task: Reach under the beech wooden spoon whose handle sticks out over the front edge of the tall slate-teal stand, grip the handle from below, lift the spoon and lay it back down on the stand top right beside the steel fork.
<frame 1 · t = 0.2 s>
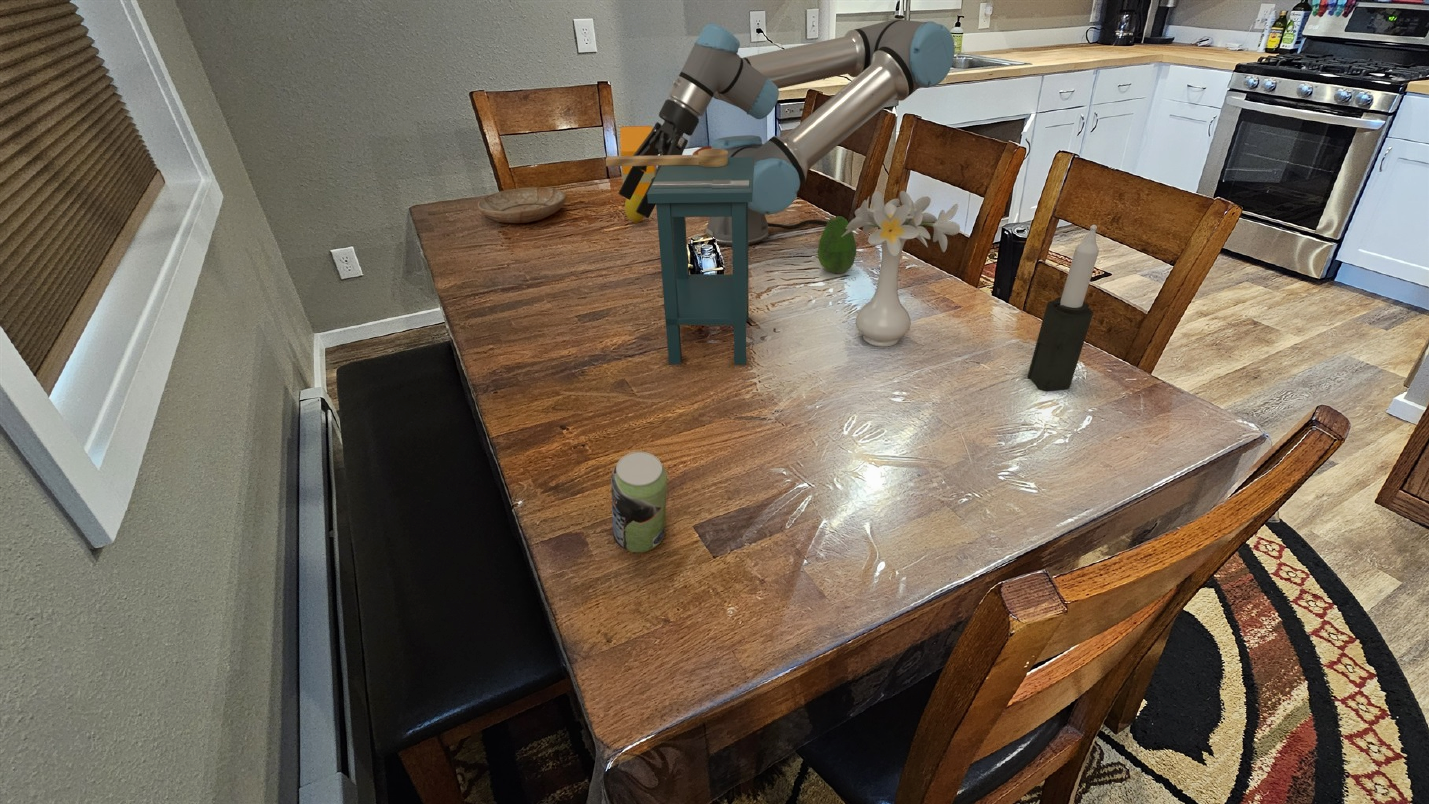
hand: (632, 205, 134), 15 cm above the table, tool tilted 35°, fingers open, 13 cm apart
beverage can: (643, 542, 77), on the table
ceramic bowl: (525, 216, 180), on the table
candle: (1047, 382, 103), on the table
flower vase: (882, 338, 116), on the table
lemon: (637, 224, 172), on the table
burger: (711, 181, 203), on the table
wooden spoon: (673, 164, 107), point 29 cm above the table, touching stand
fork: (701, 186, 96), point 29 cm above the table, touching stand
avocado: (834, 273, 141), on the table
stand: (711, 339, 118), on the table
orange juice: (642, 201, 188), on the table
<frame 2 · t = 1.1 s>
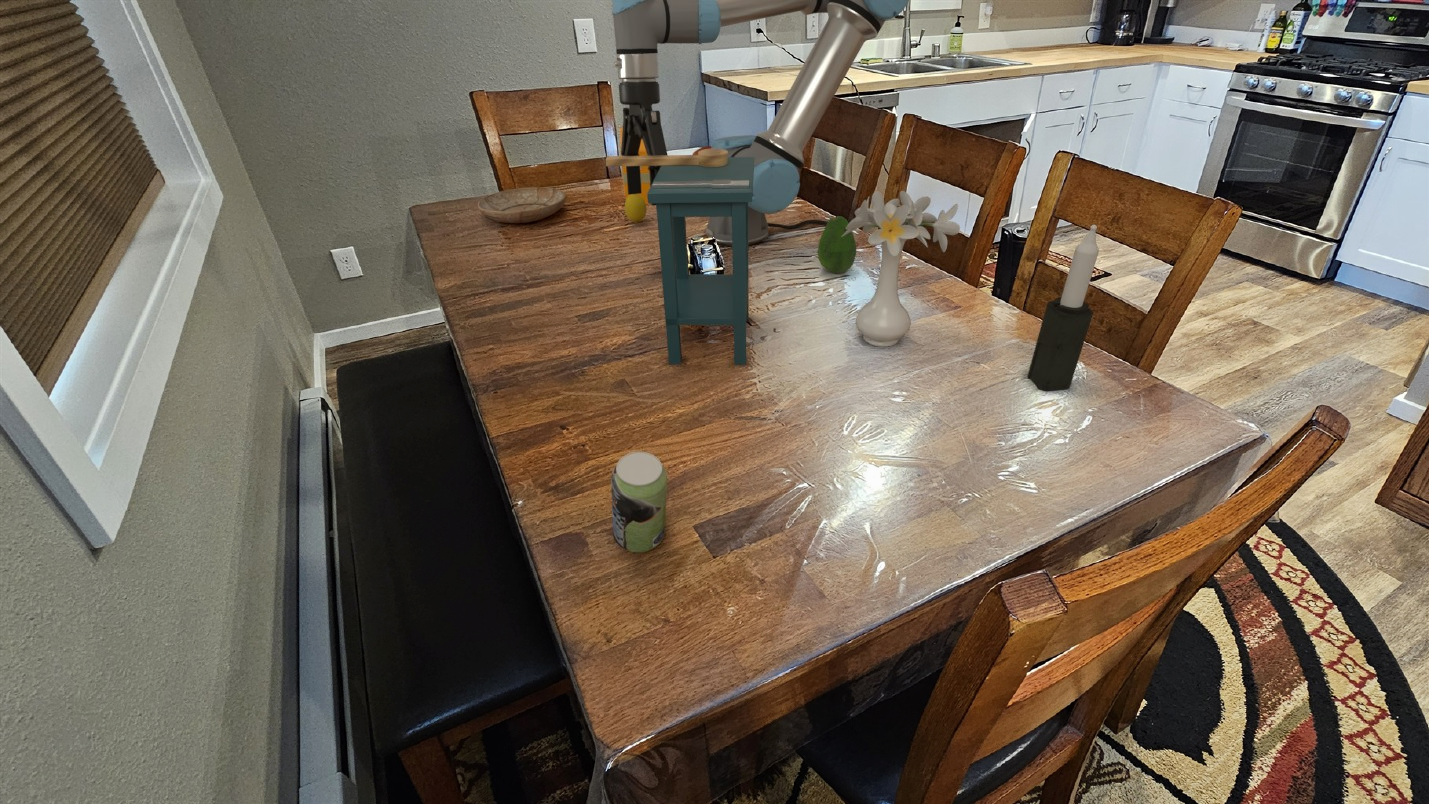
hand: (646, 199, 131), 17 cm above the table, tool pointing down, fingers open, 13 cm apart
nothing on the table moved.
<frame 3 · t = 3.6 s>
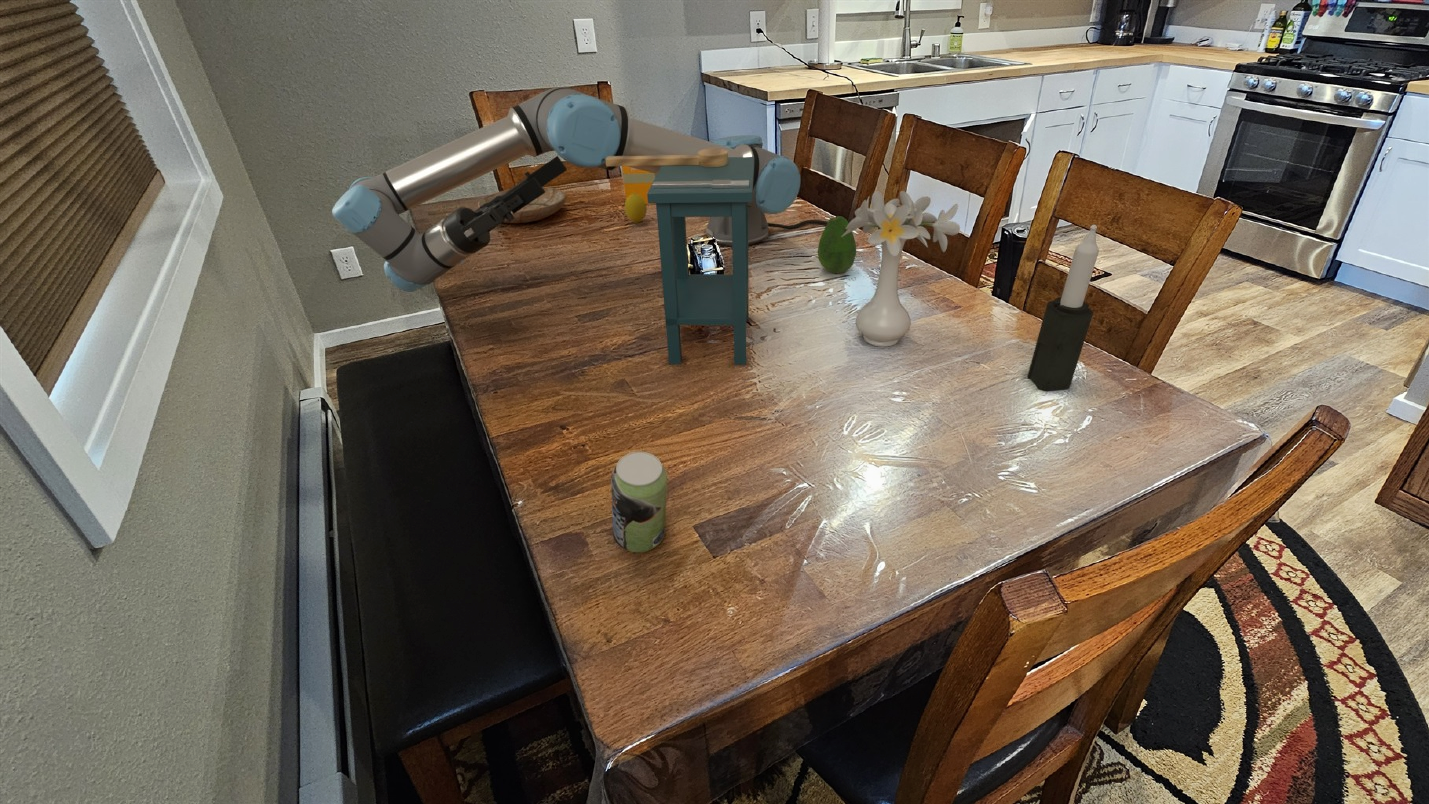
hand: (551, 173, 109), 28 cm above the table, tool pointing upward, fingers open, 13 cm apart
nothing on the table moved.
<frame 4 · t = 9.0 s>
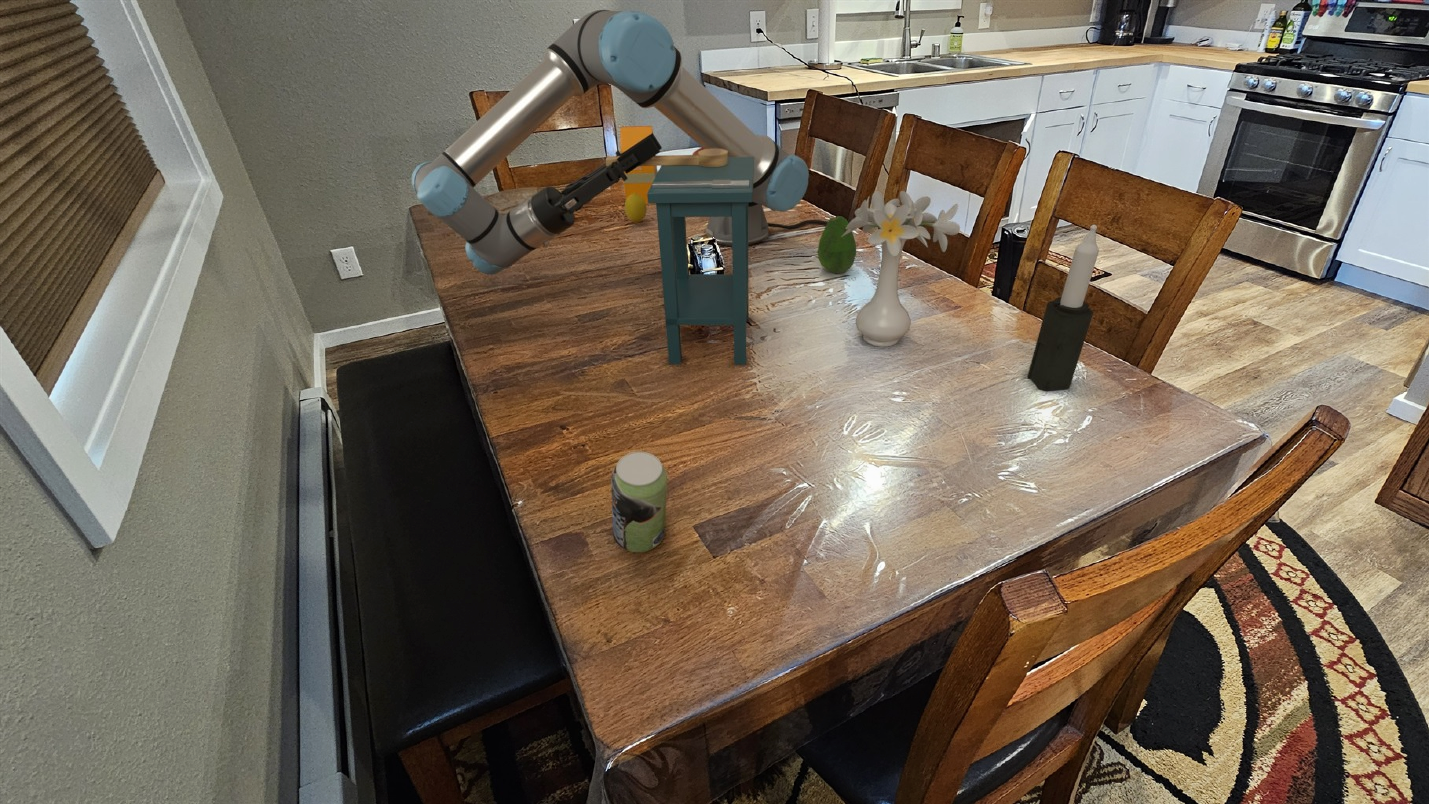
hand: (655, 142, 105), 32 cm above the table, tool pointing upward, fingers closed on wooden spoon, 2 cm apart
wooden spoon: (673, 164, 107), point 29 cm above the table, touching gripper, stand
everything else where it was.
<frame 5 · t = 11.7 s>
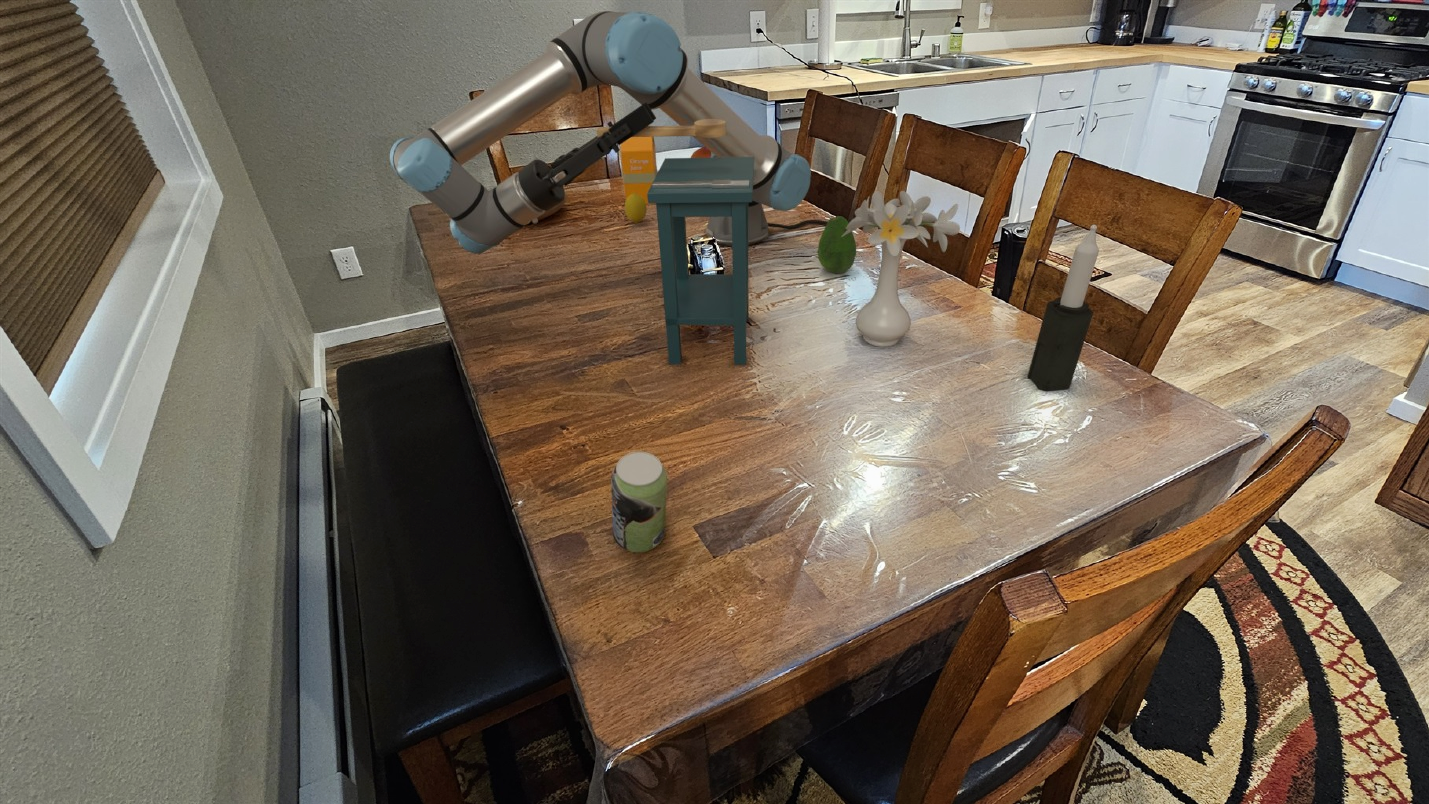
hand: (649, 112, 100), 38 cm above the table, tool pointing upward, fingers closed on wooden spoon, 2 cm apart
wooden spoon: (668, 135, 101), point 34 cm above the table, touching gripper
everything else where it was.
when the fingers open (32 cm above the table, at t = 14.4 s): wooden spoon stays where it is, resting on stand.
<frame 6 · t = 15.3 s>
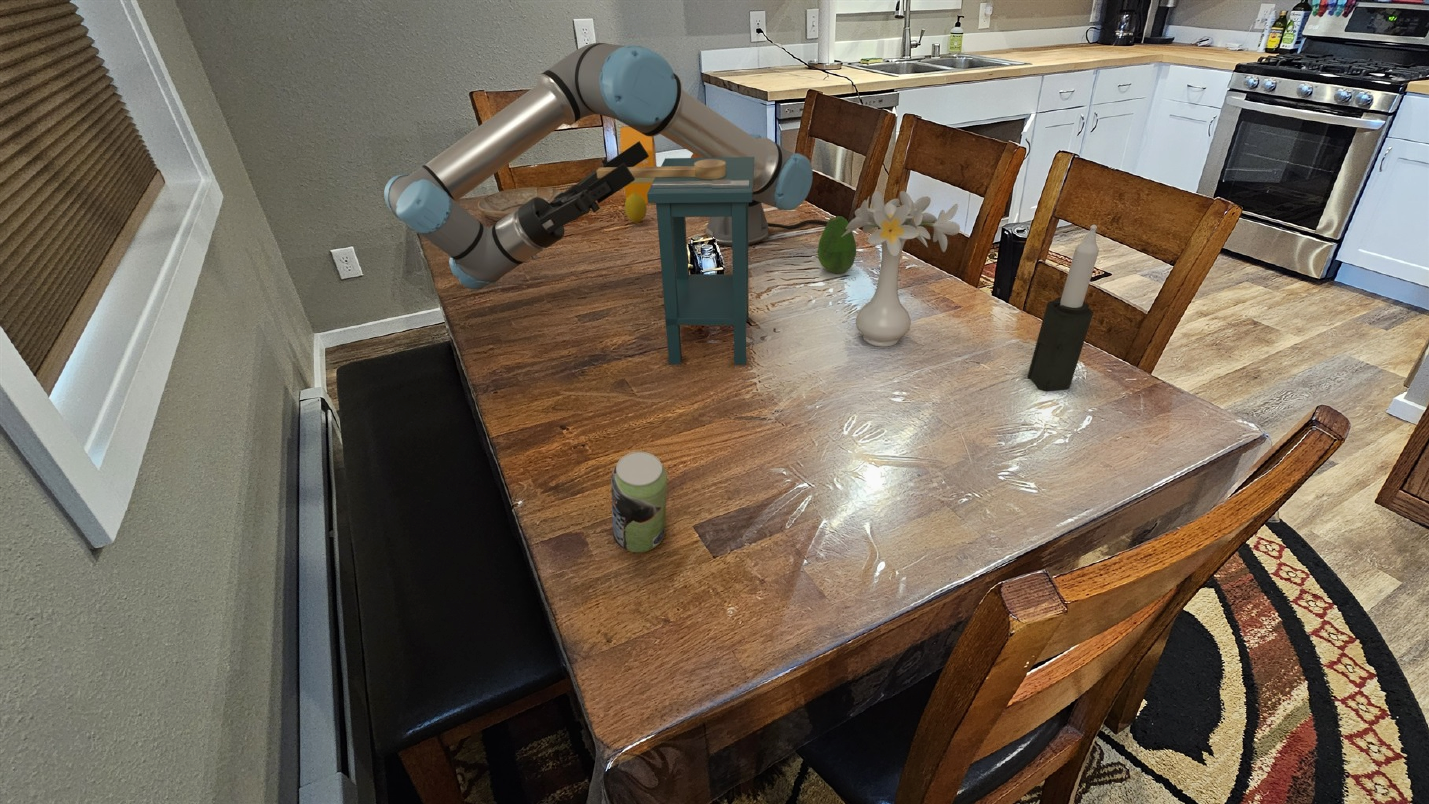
hand: (637, 159, 100), 32 cm above the table, tool pointing upward, fingers open, 13 cm apart
wooden spoon: (668, 175, 101), point 29 cm above the table, touching stand
everything else where it was.
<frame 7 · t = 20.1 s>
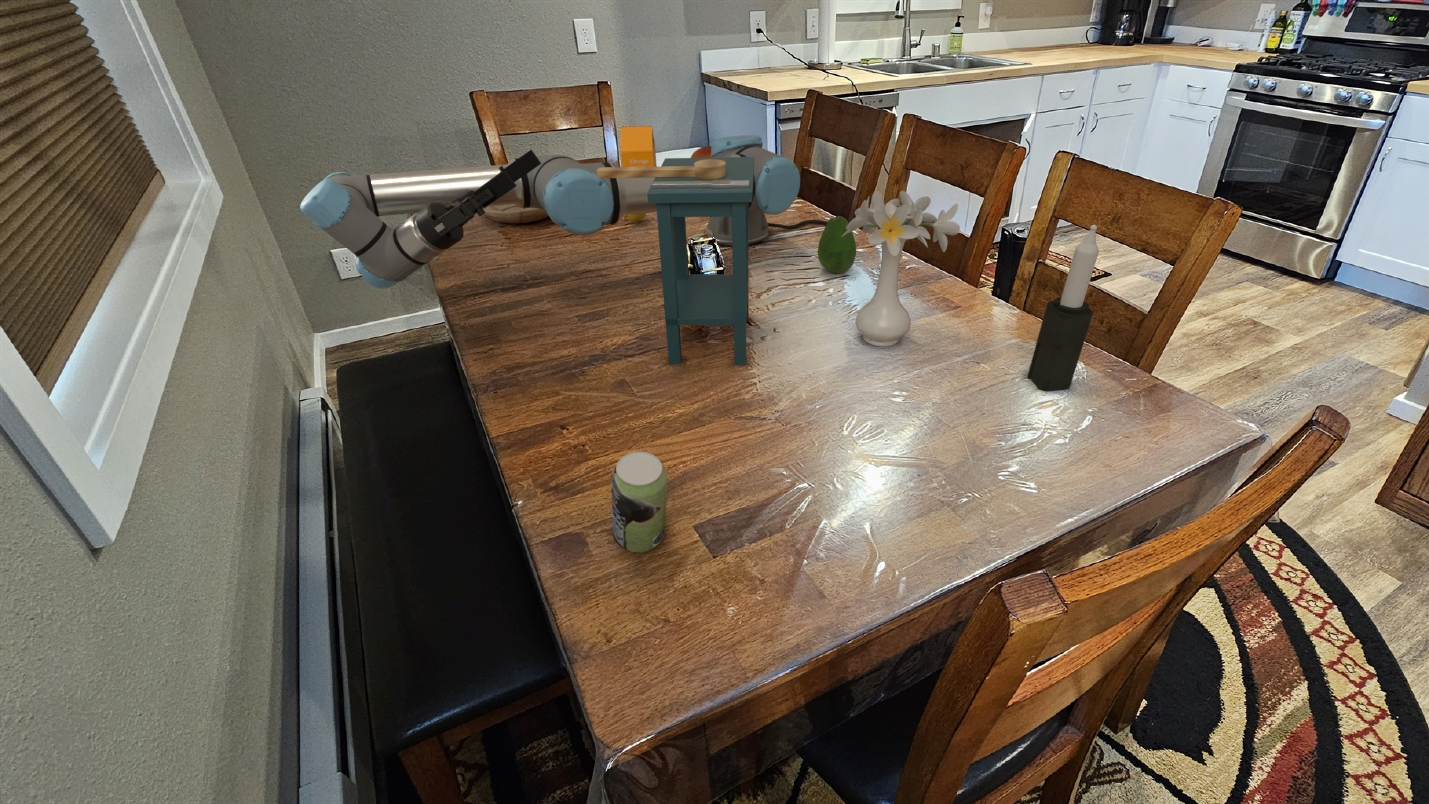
hand: (523, 167, 107), 29 cm above the table, tool pointing upward, fingers open, 13 cm apart
nothing on the table moved.
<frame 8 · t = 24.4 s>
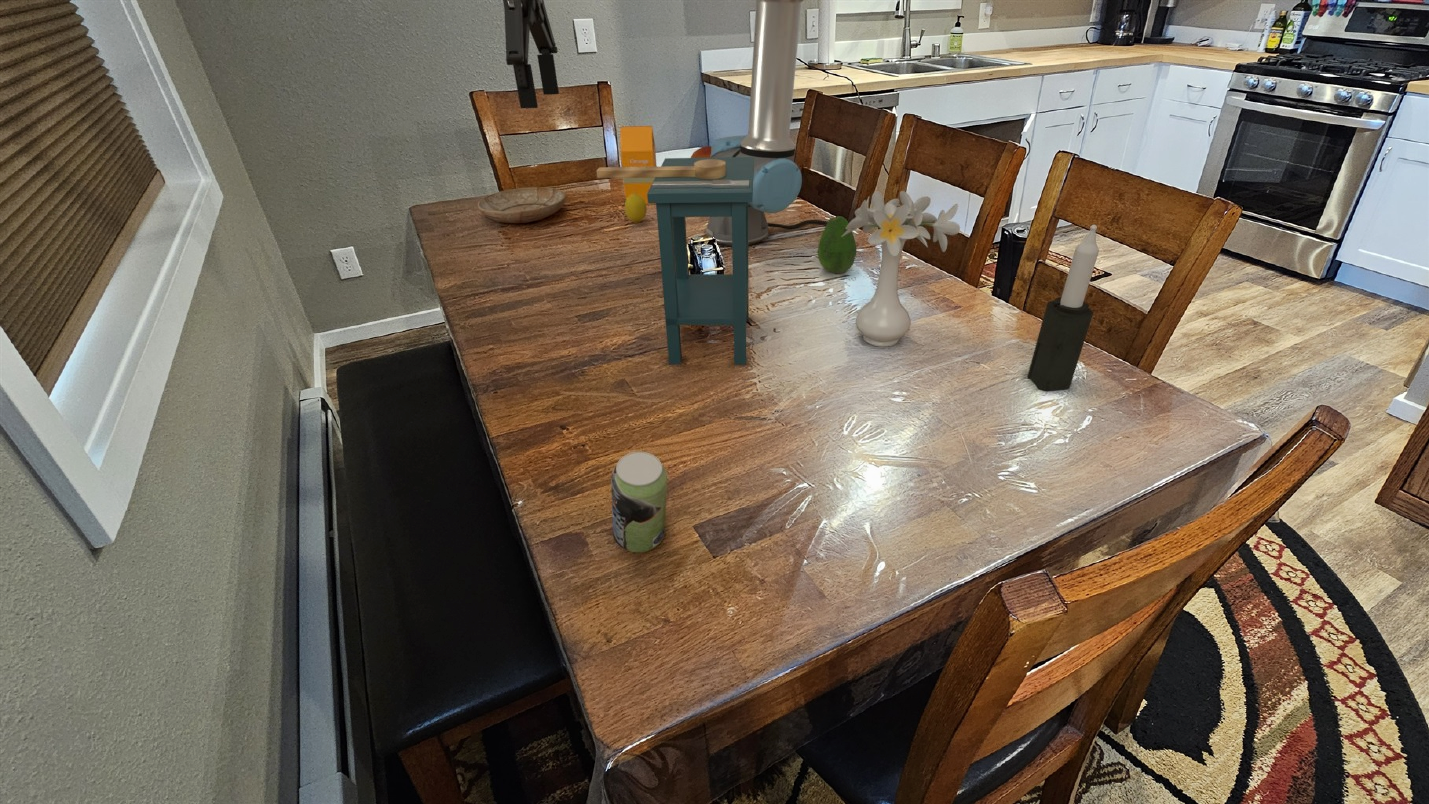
hand: (540, 100, 116), 37 cm above the table, tool pointing down, fingers open, 13 cm apart
nothing on the table moved.
at the end: wooden spoon 8.1 cm from the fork (horizontally); wooden spoon point 29.0 cm above the table; wooden spoon tilted 0° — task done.
